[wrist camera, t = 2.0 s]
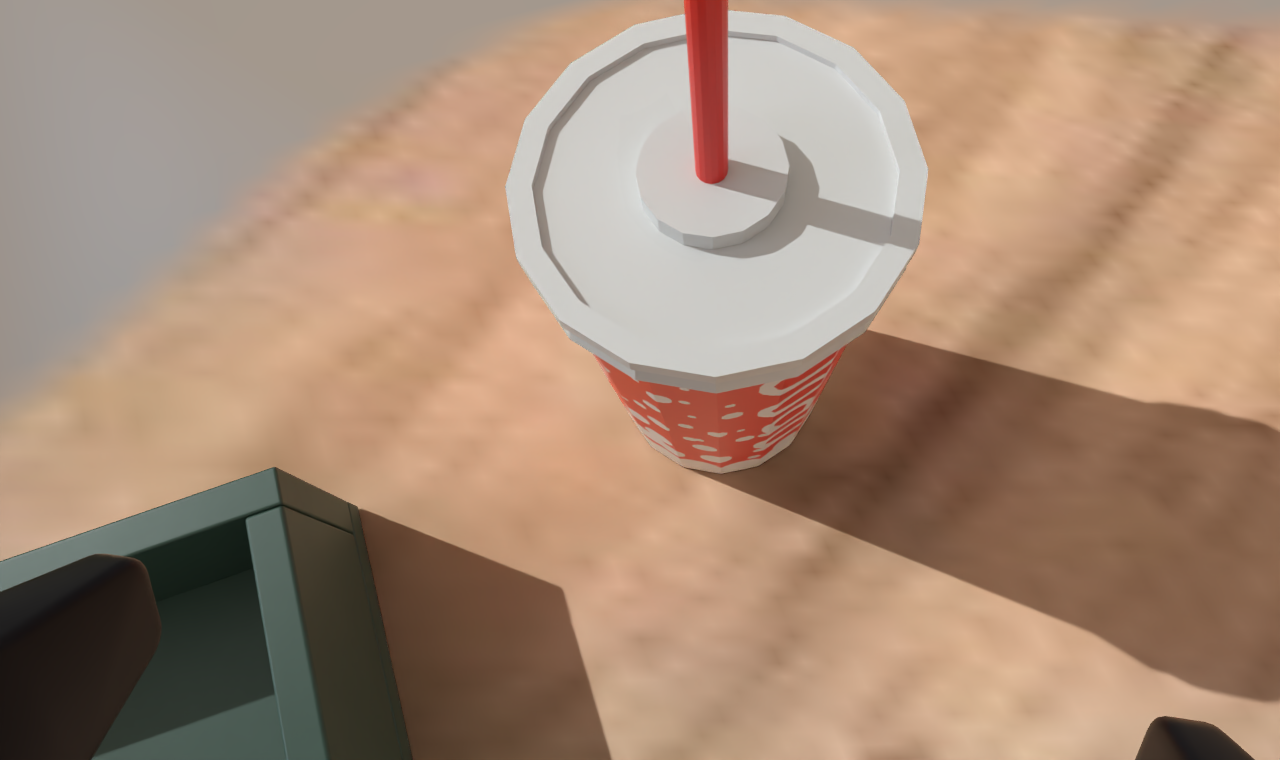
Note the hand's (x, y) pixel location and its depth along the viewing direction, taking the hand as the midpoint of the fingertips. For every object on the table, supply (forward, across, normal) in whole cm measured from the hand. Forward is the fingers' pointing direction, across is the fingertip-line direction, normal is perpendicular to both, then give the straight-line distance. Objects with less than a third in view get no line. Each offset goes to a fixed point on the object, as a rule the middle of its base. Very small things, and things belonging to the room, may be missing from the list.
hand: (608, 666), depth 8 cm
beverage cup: (+14, 0, +4) cm, 14 cm away
